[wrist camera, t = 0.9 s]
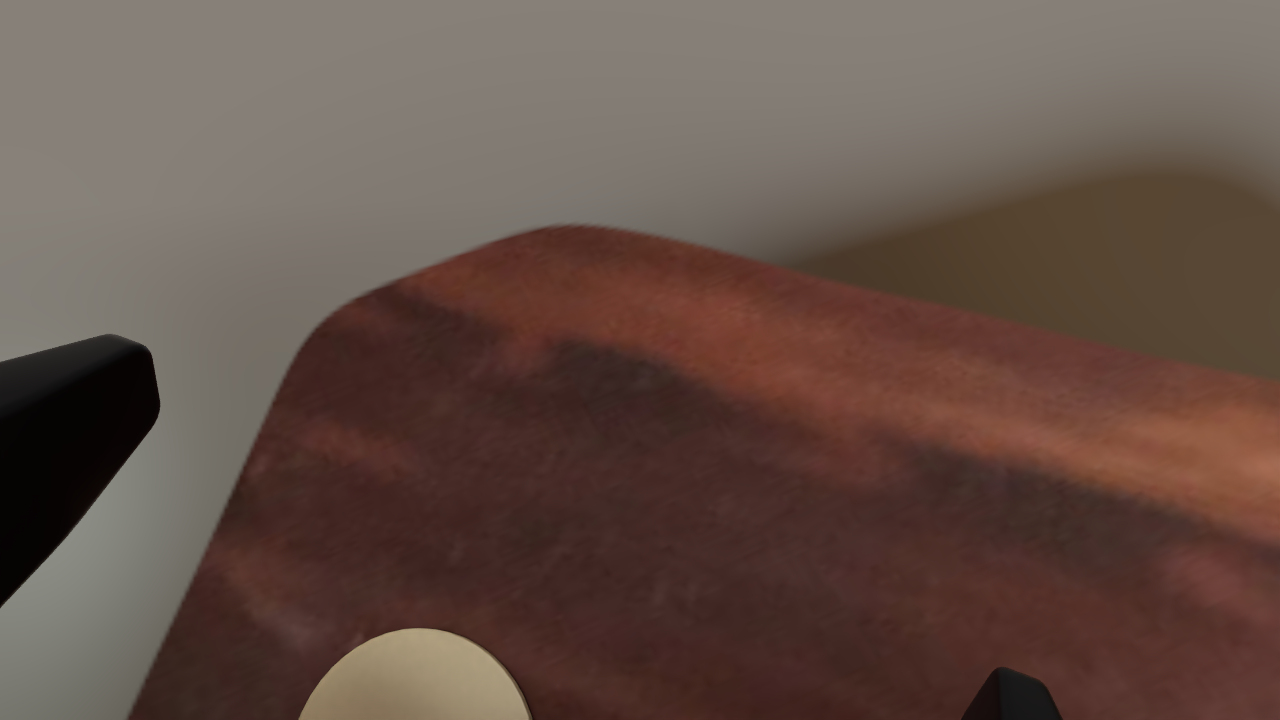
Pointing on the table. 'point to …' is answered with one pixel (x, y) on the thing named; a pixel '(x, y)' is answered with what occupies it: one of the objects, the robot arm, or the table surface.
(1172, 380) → the table surface
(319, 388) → the table surface
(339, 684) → the coaster
